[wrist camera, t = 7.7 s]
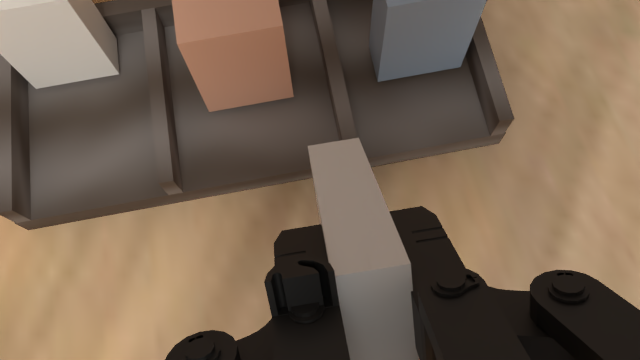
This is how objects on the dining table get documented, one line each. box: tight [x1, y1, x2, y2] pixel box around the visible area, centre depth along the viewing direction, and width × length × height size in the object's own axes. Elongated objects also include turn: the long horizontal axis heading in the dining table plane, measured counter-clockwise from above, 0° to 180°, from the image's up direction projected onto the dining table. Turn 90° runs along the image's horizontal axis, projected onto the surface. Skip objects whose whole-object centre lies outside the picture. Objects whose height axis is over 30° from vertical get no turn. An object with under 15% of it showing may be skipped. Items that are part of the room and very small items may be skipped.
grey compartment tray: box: [0, 0, 514, 230], centre depth 34 cm, size 12×28×4 cm, turn 101°
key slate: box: [369, 0, 487, 82], centre depth 31 cm, size 2×5×7 cm, turn 101°
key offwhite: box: [0, 0, 119, 89], centre depth 32 cm, size 2×5×7 cm, turn 100°
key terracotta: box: [172, 0, 294, 112], centre depth 31 cm, size 2×5×7 cm, turn 101°
